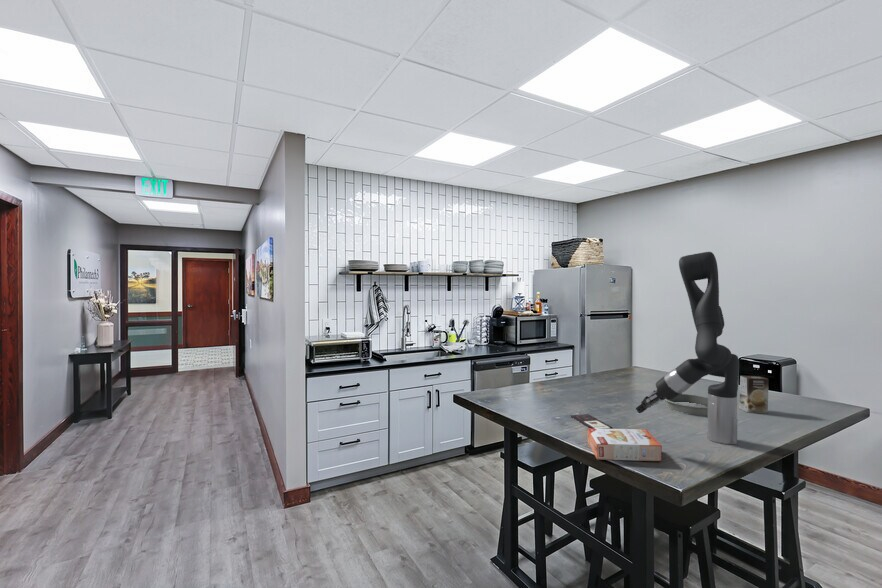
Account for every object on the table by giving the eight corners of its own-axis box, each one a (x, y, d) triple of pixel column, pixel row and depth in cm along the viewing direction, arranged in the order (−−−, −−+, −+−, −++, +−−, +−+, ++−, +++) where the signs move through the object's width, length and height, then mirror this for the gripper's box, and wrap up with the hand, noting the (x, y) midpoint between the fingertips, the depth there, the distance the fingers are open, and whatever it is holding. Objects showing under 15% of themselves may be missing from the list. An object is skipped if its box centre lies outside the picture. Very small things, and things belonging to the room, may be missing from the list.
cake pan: (726, 420, 182) (727, 409, 182) (663, 412, 193) (663, 403, 193) (717, 405, 205) (717, 396, 204) (661, 399, 215) (661, 391, 215)
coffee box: (747, 412, 192) (747, 378, 192) (738, 408, 199) (739, 375, 199) (768, 413, 192) (769, 378, 191) (759, 409, 198) (759, 375, 198)
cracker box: (662, 444, 136) (596, 443, 139) (662, 461, 137) (596, 461, 139) (646, 427, 150) (586, 427, 153) (646, 444, 151) (587, 443, 153)
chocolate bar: (588, 414, 188) (612, 427, 170) (588, 416, 188) (612, 429, 170) (570, 415, 186) (592, 428, 168) (570, 417, 186) (592, 431, 168)
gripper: (674, 372, 148) (639, 399, 158) (657, 377, 140) (622, 405, 149) (690, 389, 144) (653, 416, 154) (674, 396, 135) (636, 423, 145)
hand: (638, 410), depth 151 cm, fingers closed
